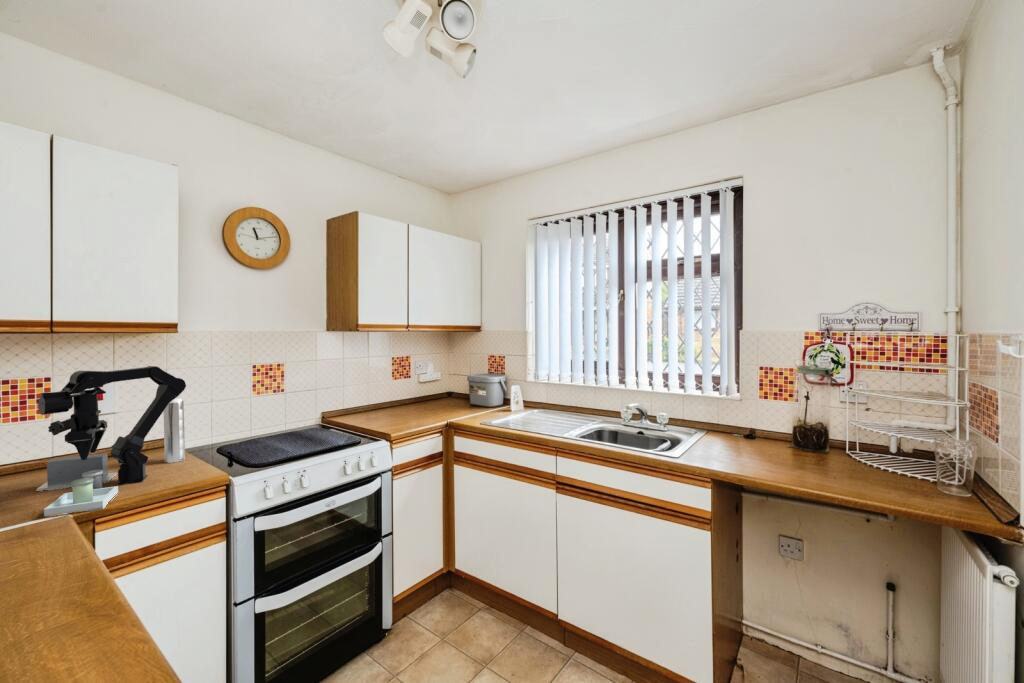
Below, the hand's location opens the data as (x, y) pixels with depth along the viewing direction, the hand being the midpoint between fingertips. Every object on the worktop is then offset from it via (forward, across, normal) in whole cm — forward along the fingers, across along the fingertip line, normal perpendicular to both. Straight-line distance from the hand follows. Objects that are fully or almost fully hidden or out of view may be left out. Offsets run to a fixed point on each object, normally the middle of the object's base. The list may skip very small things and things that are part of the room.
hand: (88, 456), depth 142 cm
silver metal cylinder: (+12, -27, +19) cm, 36 cm away
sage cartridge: (+11, +14, +2) cm, 18 cm away
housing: (+12, -13, -6) cm, 18 cm away
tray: (+12, +14, +2) cm, 18 cm away
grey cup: (+12, +3, +1) cm, 12 cm away
